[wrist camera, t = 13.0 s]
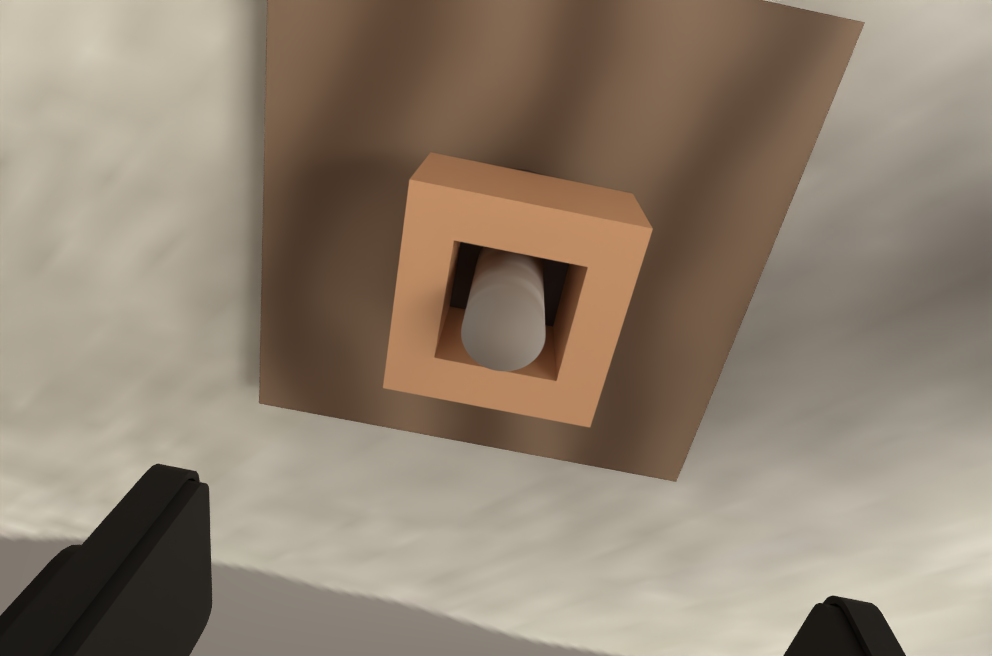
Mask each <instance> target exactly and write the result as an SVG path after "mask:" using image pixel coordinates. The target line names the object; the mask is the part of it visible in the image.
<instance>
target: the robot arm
mask: <svg viewBox="0 0 992 656" xmlns="http://www.w3.org/2000/svg"><path fill="white" fill-rule="evenodd" d="M211 579H212V578H211V542H210V505H209V486H208V485H207V484H206V483H201V482H200V480H199V475H198V473H197V472H196V471H192V470H187V469H182V468H177V467H172V466H167V465H162V464H156V465H153V466H152V467H151V468H150V469H149V470H147V472H146V473H145V474H144V475H143V476H142V477H141V478H140V479H139V481H138V482H137V483H136V484H135V485H134V486H133V487H132V489H131V490H130V491H129V492H128V493H127V494H126V495H125V496H124V498H123V499H122V500H121V501H120V502H119V503H118V504H117V506H116V507H115V508H114V509H113V510H112V511H111V512H110V513H109V515H108V516H107V517H106V518H105V519H104V520H103V521H102V523H101V524H100V525H99V526H98V527H97V528H96V529H95V530H94V532H93V533H92V534H91V535H90V536H89V537H88V538H87V539H86V541H85V542H84V543H83V544H82V545H71V546H69V547H67V548H65V549H63V550H62V551H61V552H60V553H58V554H57V555H56V556H55V557H54V558H53V559H52V560H51V561H50V562H49V563H48V564H47V565H46V566H45V568H44V569H43V570H42V571H41V572H40V573H39V574H38V575H37V576H36V577H35V578H34V579H33V581H32V582H31V583H30V584H29V585H28V586H27V587H26V588H25V589H24V590H23V592H22V593H21V594H20V595H19V596H18V597H17V598H16V599H15V600H14V601H13V602H12V604H11V605H10V606H9V607H8V608H7V609H6V610H5V611H4V612H3V613H2V615H1V616H0V656H189V655H190V654H191V652H192V650H193V648H194V646H195V645H196V643H197V641H198V639H199V638H200V636H201V634H202V632H203V630H204V628H205V626H206V624H207V622H208V619H209V616H210V613H211V608H212V580H211ZM784 656H906V655H905V653H904V651H903V650H902V648H901V646H900V644H899V643H898V641H897V639H896V637H895V636H894V634H893V632H892V630H891V628H890V627H889V625H888V623H887V621H886V620H885V618H884V616H883V614H882V613H881V612H880V610H879V609H878V607H876V606H875V605H874V604H872V603H868V602H863V601H858V600H853V599H848V598H843V597H838V596H830V597H828V598H827V599H826V600H825V601H824V602H823V604H822V603H818V604H816V605H815V606H814V607H813V609H812V610H811V612H810V613H809V615H808V617H807V618H806V620H805V622H804V623H803V625H802V626H801V628H800V630H799V631H798V633H797V635H796V636H795V638H794V639H793V641H792V643H791V644H790V646H789V648H788V649H787V651H786V652H785V654H784Z"/></svg>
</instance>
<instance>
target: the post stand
mask: <svg viewBox="0 0 992 656" xmlns="http://www.w3.org/2000/svg"><path fill="white" fill-rule="evenodd" d="M864 23H865V22H860V21H855V20H851V19H846V18H842V17H837V16H832V15H828V14H823V13H818V12H814V11H809V10H805V9H800V8H795V7H791V6H786V5H781V4H777V3H772V2H768V1H763V0H267V45H266V94H265V142H264V191H263V240H262V289H261V337H260V386H259V403H260V404H265V405H270V406H276V407H281V408H286V409H292V410H297V411H302V412H308V413H313V414H318V415H324V416H329V417H334V418H340V419H345V420H350V421H356V422H361V423H366V424H372V425H377V426H382V427H388V428H393V429H398V430H404V431H409V432H414V433H420V434H425V435H430V436H435V437H441V438H446V439H451V440H457V441H462V442H467V443H473V444H478V445H483V446H489V447H494V448H499V449H505V450H510V451H515V452H521V453H526V454H531V455H537V456H542V457H547V458H553V459H558V460H563V461H569V462H574V463H579V464H585V465H590V466H595V467H601V468H606V469H611V470H617V471H622V472H627V473H633V474H638V475H643V476H648V477H654V478H659V479H664V480H670V481H675V482H676V481H677V478H678V476H679V474H680V471H681V469H682V466H683V464H684V461H685V459H686V457H687V454H688V452H689V449H690V447H691V444H692V442H693V439H694V437H695V435H696V432H697V430H698V427H699V425H700V422H701V420H702V418H703V415H704V413H705V410H706V408H707V405H708V403H709V401H710V398H711V396H712V393H713V391H714V388H715V386H716V384H717V381H718V379H719V376H720V374H721V371H722V369H723V366H724V364H725V362H726V359H727V357H728V354H729V352H730V349H731V347H732V345H733V342H734V340H735V337H736V335H737V332H738V330H739V328H740V325H741V323H742V320H743V318H744V315H745V313H746V311H747V308H748V306H749V303H750V301H751V298H752V296H753V293H754V291H755V289H756V286H757V284H758V281H759V279H760V276H761V274H762V272H763V269H764V267H765V264H766V262H767V259H768V257H769V255H770V252H771V250H772V247H773V245H774V242H775V240H776V237H777V235H778V233H779V230H780V228H781V225H782V223H783V220H784V218H785V216H786V213H787V211H788V208H789V206H790V203H791V201H792V199H793V196H794V194H795V191H796V189H797V186H798V184H799V182H800V179H801V177H802V174H803V172H804V169H805V167H806V164H807V162H808V160H809V157H810V155H811V152H812V150H813V147H814V145H815V143H816V140H817V138H818V135H819V133H820V130H821V128H822V126H823V123H824V121H825V118H826V116H827V113H828V111H829V108H830V106H831V104H832V101H833V99H834V96H835V94H836V91H837V89H838V87H839V84H840V82H841V79H842V77H843V74H844V72H845V70H846V67H847V65H848V62H849V60H850V57H851V55H852V53H853V50H854V48H855V45H856V43H857V40H858V38H859V35H860V33H861V31H862V28H863V26H864ZM431 152H432V153H437V154H442V155H446V156H451V157H456V158H461V159H466V160H471V161H476V162H481V163H486V164H490V165H495V166H500V167H505V168H510V169H515V170H520V171H525V172H530V173H534V174H539V175H544V176H549V177H554V178H559V179H564V180H569V181H574V182H578V183H583V184H588V185H593V186H598V187H603V188H608V189H613V190H618V191H622V192H627V193H632V194H633V195H634V197H635V198H636V200H637V202H638V204H639V205H640V207H641V209H642V211H643V212H644V214H645V216H646V218H647V219H648V221H649V223H650V225H651V226H652V228H653V230H652V233H651V236H650V239H649V243H648V246H647V249H646V252H645V255H644V258H643V262H642V265H641V268H640V271H639V274H638V277H637V281H636V284H635V287H634V290H633V293H632V296H631V300H630V303H629V306H628V309H627V312H626V315H625V319H624V322H623V325H622V328H621V331H620V334H619V338H618V341H617V344H616V347H615V350H614V353H613V357H612V360H611V363H610V366H609V369H608V372H607V376H606V379H605V382H604V385H603V388H602V391H601V395H600V398H599V401H598V404H597V407H596V410H595V414H594V417H593V420H592V423H591V426H590V427H585V426H579V425H574V424H569V423H564V422H559V421H553V420H548V419H543V418H538V417H532V416H527V415H522V414H517V413H511V412H506V411H501V410H496V409H490V408H485V407H480V406H475V405H469V404H464V403H459V402H454V401H448V400H443V399H438V398H433V397H427V396H422V395H417V394H412V393H406V392H401V391H396V390H391V389H385V388H383V383H384V375H385V368H386V360H387V352H388V344H389V336H390V328H391V321H392V313H393V305H394V297H395V289H396V281H397V273H398V266H399V258H400V250H401V242H402V234H403V226H404V218H405V211H406V203H407V195H408V187H409V179H410V178H411V177H412V176H413V174H414V173H415V172H416V170H417V169H418V168H419V167H420V165H421V164H422V163H423V161H424V160H425V159H426V158H427V156H428V155H429V154H430V153H431ZM568 267H569V263H565V262H560V261H555V260H550V259H545V258H540V257H535V256H530V255H525V254H520V253H515V252H510V251H505V250H500V249H495V248H490V247H485V246H480V245H475V244H470V243H465V242H460V248H459V254H458V259H457V265H456V271H455V277H454V283H453V288H452V294H451V300H450V307H455V308H461V309H466V311H465V315H464V319H463V324H462V329H461V337H462V342H463V345H464V347H465V349H466V351H467V353H468V354H469V355H470V357H471V358H472V359H473V360H475V361H476V362H477V363H478V364H480V365H482V366H484V367H486V368H488V369H491V370H495V371H513V370H517V369H520V368H523V367H525V366H527V365H528V364H530V363H531V362H532V361H534V360H535V359H536V358H537V356H538V355H539V354H540V352H541V350H542V348H543V346H544V343H545V325H547V326H552V327H553V325H554V321H555V317H556V313H557V310H558V306H559V302H560V298H561V294H562V290H563V286H564V283H565V279H566V275H567V271H568Z"/></svg>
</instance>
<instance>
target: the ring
mask: <svg viewBox="0 0 992 656" xmlns="http://www.w3.org/2000/svg"><path fill="white" fill-rule="evenodd" d="M652 230H653V228H652V226H651V225H650V223H649V221H648V219H647V218H646V216H645V214H644V212H643V211H642V209H641V207H640V205H639V204H638V202H637V200H636V198H635V197H634V195H633V194H632V193H627V192H622V191H618V190H613V189H608V188H603V187H598V186H593V185H588V184H583V183H578V182H574V181H569V180H564V179H559V178H554V177H549V176H544V175H539V174H534V173H530V172H525V171H520V170H515V169H510V168H505V167H500V166H495V165H490V164H486V163H481V162H476V161H471V160H466V159H461V158H456V157H451V156H446V155H442V154H437V153H432V152H431V153H430V154H429V155H428V156H427V158H426V159H425V160H424V161H423V163H422V164H421V165H420V167H419V168H418V169H417V170H416V172H415V173H414V174H413V176H412V177H411V178H410V179H409V187H408V195H407V203H406V211H405V218H404V226H403V234H402V242H401V250H400V258H399V266H398V273H397V281H396V289H395V297H394V305H393V313H392V321H391V328H390V336H389V344H388V352H387V360H386V368H385V375H384V383H383V388H385V389H391V390H396V391H401V392H406V393H412V394H417V395H422V396H427V397H433V398H438V399H443V400H448V401H454V402H459V403H464V404H469V405H475V406H480V407H485V408H490V409H496V410H501V411H506V412H511V413H517V414H522V415H527V416H532V417H538V418H543V419H548V420H553V421H559V422H564V423H569V424H574V425H579V426H585V427H590V426H591V423H592V420H593V417H594V414H595V410H596V407H597V404H598V401H599V398H600V395H601V391H602V388H603V385H604V382H605V379H606V376H607V372H608V369H609V366H610V363H611V360H612V357H613V353H614V350H615V347H616V344H617V341H618V338H619V334H620V331H621V328H622V325H623V322H624V319H625V315H626V312H627V309H628V306H629V303H630V300H631V296H632V293H633V290H634V287H635V284H636V281H637V277H638V274H639V271H640V268H641V265H642V262H643V258H644V255H645V252H646V249H647V246H648V243H649V239H650V236H651V233H652ZM460 242H465V243H470V244H475V245H480V246H485V247H490V248H495V249H500V250H505V251H510V252H515V253H520V254H525V255H530V256H535V257H540V258H545V259H550V260H555V261H560V262H565V263H569V267H568V271H567V275H566V279H565V283H564V286H563V290H562V294H561V298H560V302H559V306H558V310H557V313H556V317H555V321H554V325H553V327H552V326H547V325H545V343H544V346H543V348H542V350H541V352H540V354H539V355H538V356H537V358H536V359H535V360H534V361H532V362H531V363H530V364H528V365H527V366H525V367H523V368H520V369H517V370H513V371H495V370H491V369H488V368H486V367H484V366H482V365H480V364H478V363H477V362H476V361H475V360H473V359H472V358H471V357H470V355H469V354H468V353H467V351H466V349H465V347H464V345H463V342H462V337H461V329H462V324H463V319H464V315H465V311H466V309H461V308H455V307H450V300H451V294H452V288H453V283H454V277H455V271H456V265H457V259H458V254H459V248H460Z"/></svg>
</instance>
